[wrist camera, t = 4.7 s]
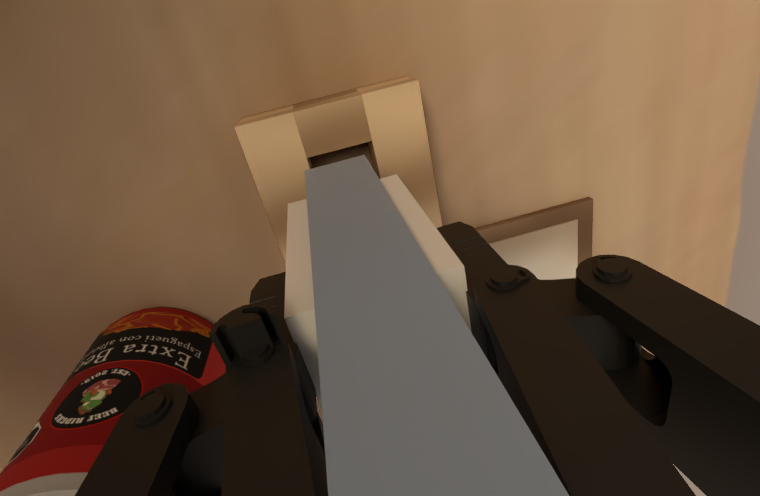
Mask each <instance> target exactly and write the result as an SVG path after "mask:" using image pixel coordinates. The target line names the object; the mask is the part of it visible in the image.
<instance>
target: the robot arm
mask: <svg viewBox="0 0 760 496" xmlns="http://www.w3.org/2000/svg"><path fill="white" fill-rule="evenodd" d="M380 181H381V183H382V184H383V186H384V188H385V189H386V191H387V193H388V194H389V196H390V198H391V199H392V201H393V203H394V204H395V206H396V208H397V209H398V211H399V213H400V214H401V216H402V218H403V219H404V221H405V223H406V224H407V226H408V228H409V229H410V231H411V233H412V234H413V236H414V238H415V239H416V241H417V243H418V244H419V246H420V248H421V249H422V251H423V253H424V254H425V256H426V258H427V259H428V261H429V263H430V264H431V266H432V268H433V269H434V271H435V273H436V274H437V276H438V278H439V279H440V281H441V283H442V284H443V286H444V288H445V289H446V291H447V293H448V294H449V296H450V298H451V299H452V301H453V303H454V304H455V306H456V308H457V309H458V311H459V313H460V314H461V316H462V318H463V319H464V321H465V323H466V324H467V326H468V328H469V329H470V331H471V333H472V334H473V336H474V338H475V339H476V341H477V343H478V344H479V346H480V348H481V349H482V351H483V353H484V354H485V356H486V358H487V359H488V361H489V363H490V364H491V366H492V368H493V369H494V371H495V373H496V374H497V376H498V378H499V379H500V381H501V383H502V384H503V386H504V388H505V389H506V391H507V393H508V394H509V396H510V398H511V399H512V401H513V403H514V404H515V406H516V408H517V409H518V411H519V413H520V414H521V416H522V418H523V419H524V421H525V423H526V424H527V426H528V428H529V429H530V431H531V433H532V434H533V436H534V438H535V439H536V441H537V443H538V444H539V446H540V448H541V449H542V451H543V453H544V454H545V456H546V458H547V459H548V461H549V463H550V464H551V466H552V468H553V469H554V471H555V473H556V474H557V476H558V478H559V479H560V481H561V483H562V484H563V486H564V488H565V489H566V491H567V493H568V494H569V496H696V495H695V494H694V492H693V491H692V490H691V488H690V487H689V486H688V484H687V483H686V482H685V480H684V479H683V478H682V476H681V475H680V473H679V472H678V471H677V469H676V468H675V466H676V467H677V468H678V469H679V470H680V471H681V472H682V473H684V475H686V476H687V477H688V478H689V479H690V480H691V481H692V482H693V483H694V484H695V485H696V486H697V487H699V489H700V490H701V491H702V492H703V493H704V494H705V495H707V496H760V326H759V325H757V324H755V323H754V322H752V321H750V320H748V319H746V318H744V317H742V316H740V315H738V314H737V313H735V312H733V311H731V310H729V309H727V308H725V307H723V306H722V305H720V304H718V303H716V302H714V301H712V300H710V299H708V298H707V297H705V296H703V295H701V294H699V293H697V292H695V291H693V290H691V289H690V288H688V287H686V286H684V285H682V284H680V283H678V282H676V281H674V280H673V279H671V278H669V277H667V276H665V275H663V274H661V273H659V272H658V271H656V270H654V269H652V268H650V267H648V266H646V265H644V264H642V263H641V262H639V261H636V260H633V259H631V258H628V257H624V256H617V255H599V256H594V257H590V258H587V259H586V260H584V261H582V262H580V263H579V265H578V267H577V268H576V278H567V279H555V280H540V279H537V277H536V276H535V275H534V274H533V273H532V272H531V271H529V270H528V269H526V268H523V267H520V266H517V265H508V264H507V263H506V262H505V261H504V260H503V259H502V258H501V257H500V255H499V254H498V253H497V252H496V251H495V250H494V249H493V248H492V247H491V246H490V245H489V244H487V242H486V240H485V239H484V238H483V237H481V235H480V234H479V233H478V232H477V231H476V230H475V229H474V228H473V227H472V226H470V225H467V224H464V223H462V222H456V223H452V224H449V225H445V226H442V227H438V228H436V227H435V226H434V224H433V223H432V222H431V220H430V219H429V218H428V216H427V215H426V213H425V212H424V211H423V209H422V208H421V207H420V205H419V204H418V203H417V201H416V200H415V199H414V197H413V196H412V194H411V193H410V192H409V190H408V189H407V188H406V186H405V185H404V184H403V182H402V181H401V179H400V178H399V177H398V175H397V174H396V175H392V176H388V177H385V178H381V179H380ZM209 336H210V338H211V340H212V341H213V343H214V345H215V347H216V349H217V351H218V353H219V354H220V356H221V358H222V360H223V362H224V364H225V366H226V372H225V373H224V374H223V375H222V376H220V377H219V378H217V379H215V380H214V381H212V382H210V383H208V384H207V385H205V386H203V387H201V388H199V389H197V390H195V391H193V392H192V393H189V391H188V390H187V388H186V387H185V386H184V385H181V384H179V383H166V384H163V385H161V386H158V387H155V388H153V389H151V390H149V391H147V392H145V393H144V394H142V395H141V396H139V397H138V398H137V399H136V400H135V401H134V402H132V403H131V404H130V405H129V406H128V407H127V409H126V410H125V411H124V413H123V414H122V415H121V417H120V418H119V420H118V422H117V423H116V425H115V427H114V429H113V430H112V432H111V434H110V435H109V437H108V439H107V441H106V442H105V444H104V446H103V448H102V449H101V451H100V453H99V455H98V456H97V458H96V460H95V461H94V463H93V465H92V467H91V468H90V470H89V472H88V474H87V475H86V477H85V479H84V481H83V482H82V484H81V486H80V487H79V489H78V491H77V493H76V494H75V496H328V485H327V471H326V457H325V444H324V430H323V424H322V421H321V419H320V417H319V414H318V412H317V405H316V396H317V399H318V401H319V403H320V406H321V408H322V403H321V389H320V375H319V362H318V348H317V334H316V321H315V307H314V293H313V280H312V266H311V252H310V239H309V225H308V211H307V199H304V200H300V201H297V202H293V203H289V204H288V214H287V245H286V272H283V273H280V274H276V275H273V276H269V277H266V278H262V279H260V280H259V281H258V283H257V284H256V285H255V287H254V288H253V289H252V291H251V296H250V304H249V305H244V306H241V307H239V308H237V309H235V310H233V311H230V312H229V313H228V314H226V315H225V316H223V317H222V318H221V319H220V320H219V321H218V322H217V323H216V324H215V325H214V326H213V328H212V330H211V333H210V335H209ZM642 346H643V347H644V348H646V349H647V350H648V351H650V352H651V353H653V354H654V355H655V356H654V355H652V354H650V353H648V352H647V351H645V350H644V349H643V348H642ZM672 463H673V464H674V465H675V466H674V465H673V464H672Z"/></svg>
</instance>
